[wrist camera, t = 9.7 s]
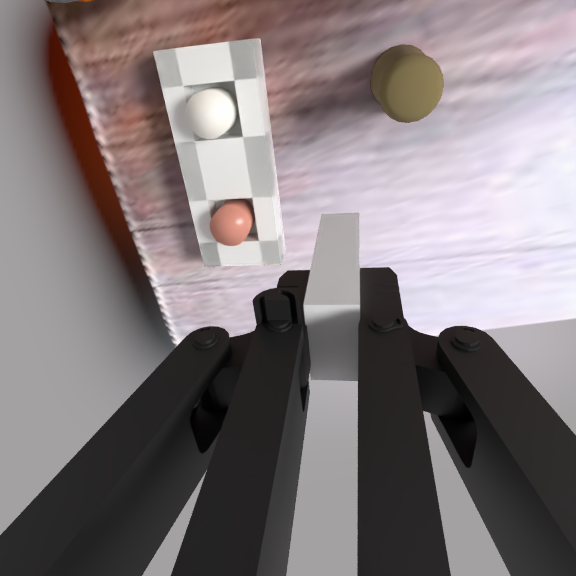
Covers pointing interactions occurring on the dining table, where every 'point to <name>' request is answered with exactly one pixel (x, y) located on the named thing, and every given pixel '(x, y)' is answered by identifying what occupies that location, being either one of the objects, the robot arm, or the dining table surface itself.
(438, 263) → the dining table surface
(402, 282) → the dining table surface
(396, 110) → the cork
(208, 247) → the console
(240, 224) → the salmon rounded knob
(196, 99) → the white rounded piece
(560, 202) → the dining table surface
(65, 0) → the reusable coffee cup
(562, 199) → the dining table surface
